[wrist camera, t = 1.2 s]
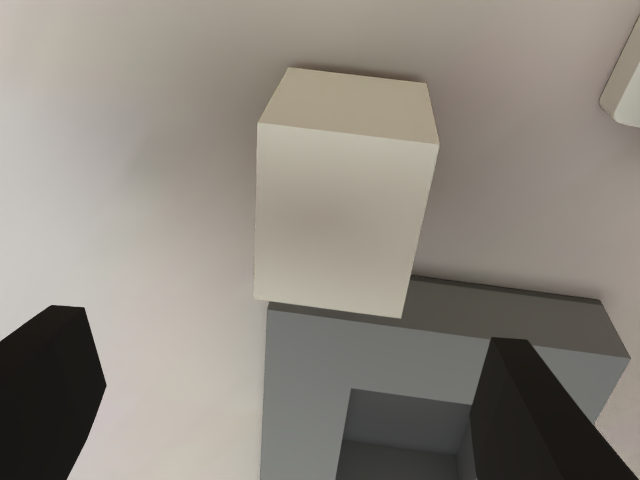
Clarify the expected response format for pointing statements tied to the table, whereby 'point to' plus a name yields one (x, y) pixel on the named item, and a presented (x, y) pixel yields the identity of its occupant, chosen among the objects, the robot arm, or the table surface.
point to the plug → (341, 190)
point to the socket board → (414, 378)
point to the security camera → (625, 84)
